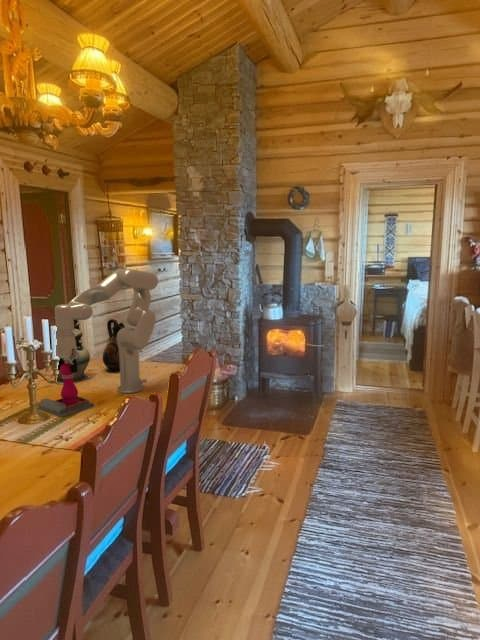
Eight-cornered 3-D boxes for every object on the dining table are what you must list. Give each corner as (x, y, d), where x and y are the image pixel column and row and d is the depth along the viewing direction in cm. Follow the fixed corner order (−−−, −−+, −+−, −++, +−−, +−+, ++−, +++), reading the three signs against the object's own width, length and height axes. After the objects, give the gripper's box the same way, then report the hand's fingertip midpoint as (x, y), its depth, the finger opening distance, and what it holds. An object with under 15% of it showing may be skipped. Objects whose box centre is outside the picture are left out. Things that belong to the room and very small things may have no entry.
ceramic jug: (135, 369, 266) (134, 319, 262) (116, 375, 253) (113, 322, 249) (115, 365, 275) (113, 316, 271) (95, 370, 262) (92, 320, 258)
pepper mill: (73, 406, 199) (69, 362, 196) (58, 405, 200) (54, 361, 197) (81, 400, 206) (78, 358, 203) (67, 399, 207) (63, 357, 204)
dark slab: (69, 399, 213) (69, 389, 212) (93, 406, 203) (93, 396, 202) (38, 408, 200) (37, 399, 200) (62, 417, 190) (61, 407, 189)
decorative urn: (67, 387, 233) (63, 321, 226) (41, 380, 244) (37, 316, 237) (99, 377, 250) (96, 315, 244) (74, 370, 261) (70, 311, 255)
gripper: (46, 331, 200) (48, 369, 203) (69, 336, 190) (72, 376, 193) (61, 329, 206) (63, 366, 209) (85, 333, 196) (87, 372, 199)
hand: (67, 370), depth 201 cm, fingers open, 8 cm apart
